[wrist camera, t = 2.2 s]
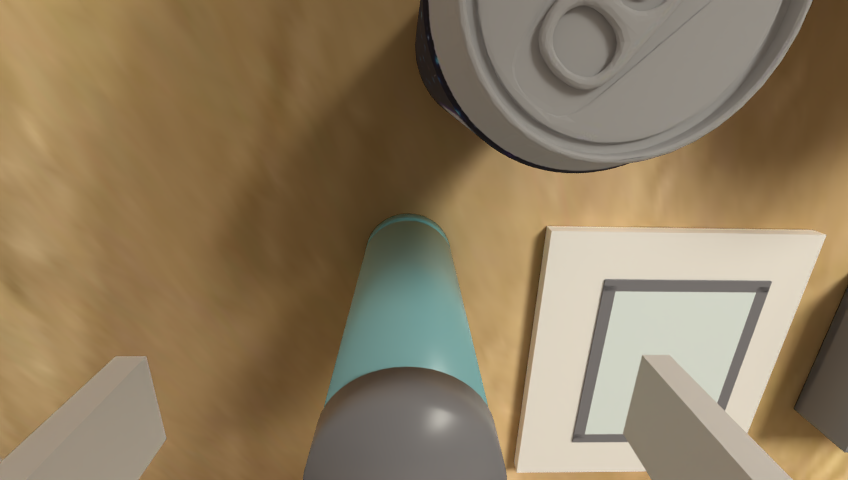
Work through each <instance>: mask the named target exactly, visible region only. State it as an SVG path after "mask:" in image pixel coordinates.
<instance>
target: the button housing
mask: <svg viewBox="0 0 848 480" xmlns="http://www.w3.org/2000/svg"><path fill="white" fill-rule="evenodd" d="M794 410H796V411H797V412H798V413H799V414H800V415H801V416H803V417H804V418H805V419H806V420H807V421H809V422H810V423H811V424H812V425H813V426H814V427H816V428H817V429H818V430H819V431H820V432H821V433H823V434H824V435H825V436H826V437H827V438H828V439H830V440H831V441H832V442H833V443H834V444H836V445H837V446H838V447H839V448H840V449H841V450H843V451H844V452H848V287H847V289H846V292H845V294H844V296H843V299H842V301H841V303H840V305H839V308H838V310H837V312H836V314H835V317H834V319H833V321H832V324H831V326H830V328H829V330H828V333H827V335H826V337H825V339H824V342H823V344H822V346H821V349H820V351H819V353H818V355H817V358H816V360H815V362H814V364H813V367H812V369H811V371H810V374H809V376H808V378H807V380H806V383H805V385H804V387H803V389H802V392H801V394H800V396H799V399H798V401H797V403H796V405H795V408H794Z"/></svg>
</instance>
